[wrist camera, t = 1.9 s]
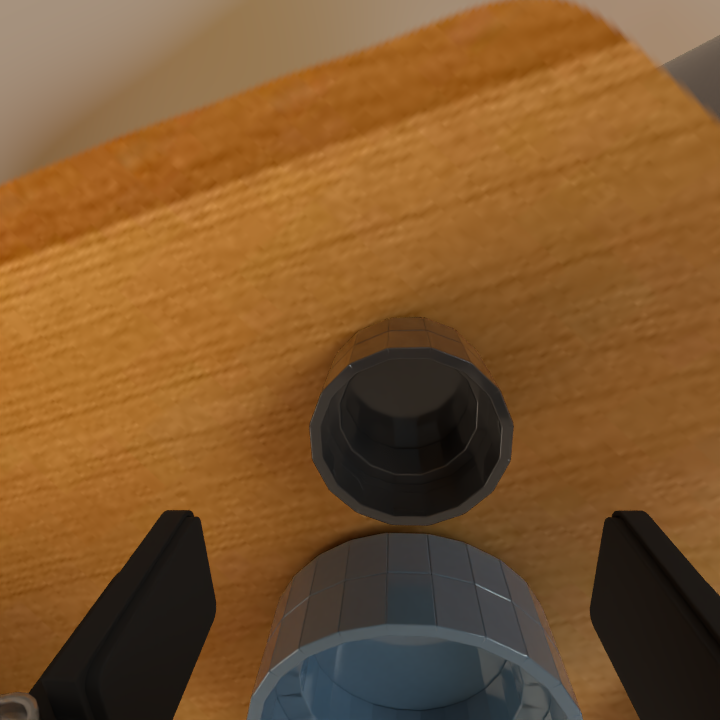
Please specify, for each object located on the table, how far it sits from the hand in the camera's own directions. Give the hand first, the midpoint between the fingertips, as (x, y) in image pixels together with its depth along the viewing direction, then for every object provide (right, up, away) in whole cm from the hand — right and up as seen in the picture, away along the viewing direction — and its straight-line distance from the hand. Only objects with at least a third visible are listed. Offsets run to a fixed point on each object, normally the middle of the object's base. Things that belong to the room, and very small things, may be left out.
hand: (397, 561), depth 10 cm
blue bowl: (+2, -10, +13) cm, 17 cm away
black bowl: (+1, +3, +9) cm, 10 cm away
